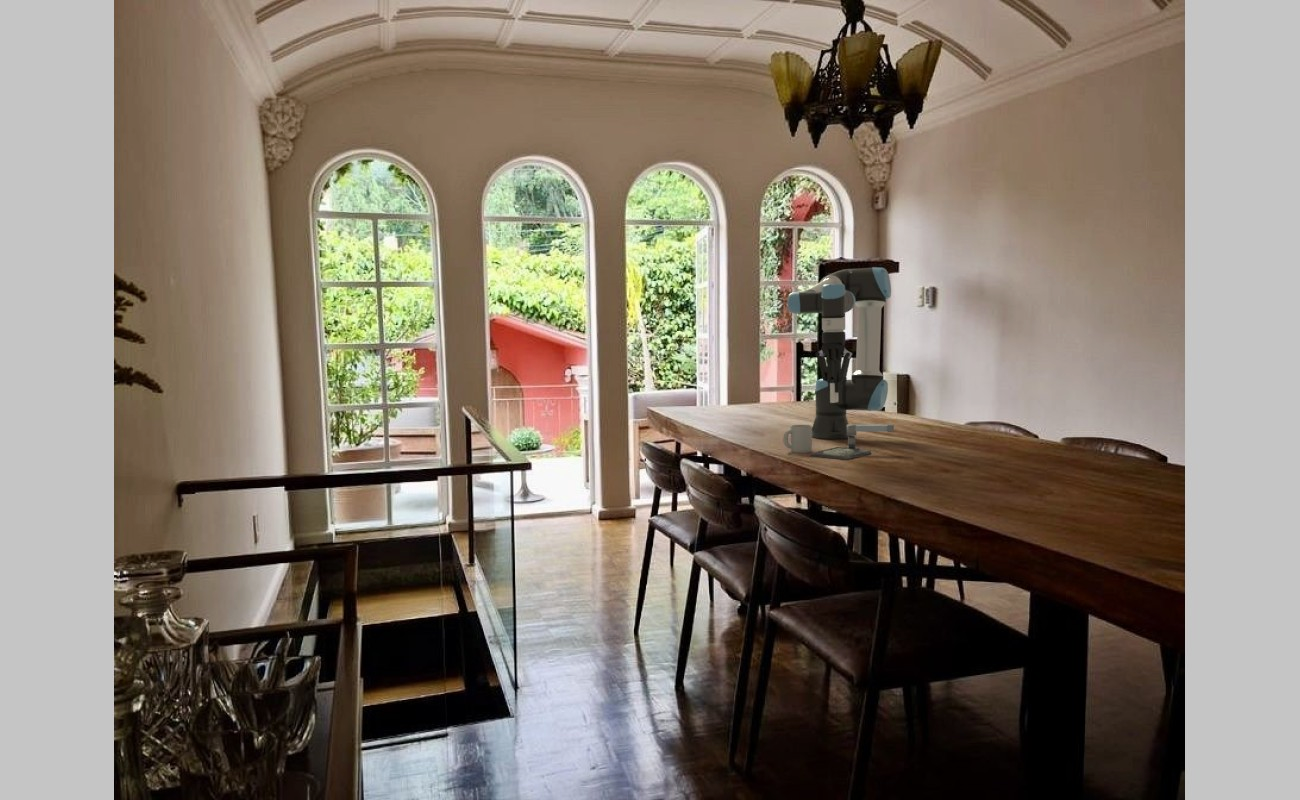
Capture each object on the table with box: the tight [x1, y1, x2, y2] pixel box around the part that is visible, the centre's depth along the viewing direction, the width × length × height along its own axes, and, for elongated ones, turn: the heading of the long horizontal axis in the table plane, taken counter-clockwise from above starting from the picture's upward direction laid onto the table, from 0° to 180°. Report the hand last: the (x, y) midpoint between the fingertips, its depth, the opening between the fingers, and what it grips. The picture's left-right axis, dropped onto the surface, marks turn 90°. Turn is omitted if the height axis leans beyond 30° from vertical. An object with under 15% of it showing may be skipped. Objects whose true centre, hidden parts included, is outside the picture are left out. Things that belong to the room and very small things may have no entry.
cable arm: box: [847, 423, 895, 437], centre depth 273 cm, size 15×3×4 cm, turn 78°
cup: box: [782, 424, 813, 454], centre depth 278 cm, size 7×10×9 cm
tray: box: [811, 435, 872, 461], centre depth 270 cm, size 16×13×6 cm
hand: (834, 402), depth 268 cm, fingers closed
